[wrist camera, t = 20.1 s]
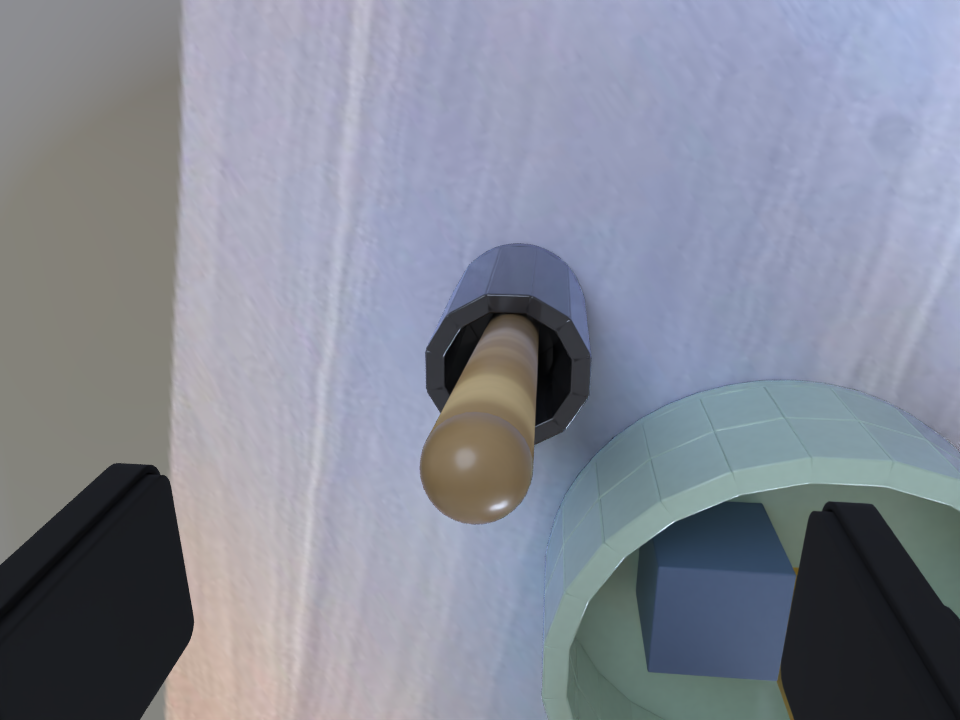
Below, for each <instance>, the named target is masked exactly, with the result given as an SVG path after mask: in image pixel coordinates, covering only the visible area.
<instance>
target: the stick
mask: <svg viewBox="0 0 960 720" xmlns="http://www.w3.org/2000/svg"><path fill="white" fill-rule="evenodd" d="M538 345H539V322H538V321H537V320H535V319H533V318H532V317H530V316H528V315H527V314H512V313H494V314H493V316H492V318H491V319H490V321H489V323H488V325H487V327H486V329H485V331H484V333H483V335H482V336H481V338H480V340H479V342H478V344H477V346H476V348H475V350H474V352H473V353H472V355H471V357H470V359H469V361H468V363H467V365H466V367H465V368H464V370H463V372H462V374H461V376H460V378H459V380H458V382H457V384H456V385H455V387H454V389H453V391H452V393H451V395H450V397H449V399H448V401H447V402H446V404H445V406H444V408H443V410H442V412H441V414H440V416H439V418H438V419H437V421H436V423H435V425H434V427H433V429H432V431H431V433H430V435H429V436H428V438H427V440H426V442H425V444H424V447H423V450H422V454H421V460H420V477H421V481H422V484H423V488H424V490H425V492H426V494H427V496H428V498H429V499H430V501H431V502H432V503H433V505H434V506H435V507H436V508H437V509H438V510H439V511H440V512H442V513H443V514H444V515H446V516H448V517H449V518H451V519H453V520H455V521H458V522H461V523H466V524H473V525H476V524H487V523H491V522H495V521H497V520H499V519H501V518H503V517H505V516H506V515H508V514H509V513H511V512H512V511H513V510H515V509H516V507H517V506H518V505H519V504H520V503H521V502H522V500H523V499H524V497H525V495H526V494H527V491H528V489H529V486H530V484H531V480H532V475H533V460H534V437H535V414H536V391H537V368H538Z"/></svg>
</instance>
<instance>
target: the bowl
mask: <svg viewBox="0 0 960 720" xmlns="http://www.w3.org/2000/svg"><path fill="white" fill-rule="evenodd" d="M725 501H727V502H747V503H762V504H763V506H764V508H765V510H766V512H767V514H768V516H769V518H770V521H771V523H772V525H773V527H774V529H775V531H776V533H777V535H778V537H779V540H780V542H781V544H782V546H783V548H784V550H785V552H786V554H787V556H788V559H789V561H790V563H791V565H792V567H797V568H799V564H800V559H801V554H802V549H803V543H804V538H805V533H806V528H807V522H808V518H809V515H810V514H811V512H813V511H822V509H823V507H824V505H825V503H827V502H828V501H833V502H852V503H869V504H873V505H874V506H875V507H876V508H877V510H878V511H879V513H880V514H881V515H882V517H883V518H884V520H885V521H886V523H887V524H888V525H889V527H890V528H891V530H892V531H893V533H894V534H895V535H896V537H897V538H898V540H899V541H900V543H901V544H902V546H903V547H904V548H905V550H906V551H907V553H908V554H909V556H910V557H911V558H912V560H913V561H914V563H915V564H916V566H917V567H918V568H919V570H920V571H921V573H922V574H923V576H924V577H925V579H926V580H927V581H928V583H929V584H930V586H931V587H932V589H933V590H934V591H935V593H936V594H937V596H938V597H939V599H940V600H941V601H942V603H943V604H944V605H945V606H947V607H949V608H950V609H951V610H952V611H953V612H954V613H955V614H956V615H957V616H958V617H959V619H960V452H959V451H958V450H957V449H956V448H955V447H954V446H953V445H952V444H950V443H949V442H948V441H947V440H946V439H945V438H943V437H942V436H941V435H939V434H937V433H936V432H935V431H934V430H932V429H931V428H929V427H928V426H927V425H925V424H924V423H922V422H921V421H920V420H918V419H917V418H915V417H914V416H913V415H911V414H910V413H908V412H906V411H904V410H902V409H900V408H898V407H896V406H894V405H892V404H890V403H888V402H886V401H885V400H882V399H879V398H876V397H874V396H871V395H868V394H865V393H862V392H860V391H857V390H853V389H849V388H844V387H840V386H835V385H831V384H826V383H818V382H808V381H798V380H767V381H754V382H746V383H739V384H732V385H726V386H722V387H718V388H714V389H711V390H707V391H703V392H699V393H696V394H693V395H691V396H688V397H685V398H683V399H680V400H678V401H675V402H672V403H670V404H667V405H666V406H664V407H662V408H660V409H658V410H656V411H654V412H652V413H650V414H648V415H647V416H645V417H643V418H641V419H640V420H638V421H637V422H635V423H634V424H632V425H631V426H629V427H628V428H627V429H625V430H624V431H622V432H621V433H619V434H618V435H617V436H616V437H614V438H613V439H612V440H611V441H610V442H609V443H608V444H607V445H606V446H604V447H603V448H602V449H601V450H600V451H599V452H598V453H597V454H596V455H595V456H594V457H593V458H592V459H591V461H590V462H589V463H588V464H587V465H586V466H585V468H584V469H583V470H582V471H581V472H580V473H579V475H578V476H577V478H576V479H575V481H574V482H573V484H572V486H571V487H570V489H569V490H568V492H567V493H566V495H565V497H564V499H563V501H562V503H561V505H560V508H559V510H558V512H557V514H556V517H555V519H554V522H553V526H552V529H551V533H550V536H549V540H548V545H547V550H546V558H545V583H544V613H543V651H542V688H541V696H542V701H543V704H544V708H545V711H546V715H547V718H548V720H790V718H789V715H788V712H787V709H786V706H785V704H784V701H783V698H782V695H781V692H780V690H779V687H778V684H777V681H766V680H752V679H737V678H723V677H709V676H695V675H680V674H666V673H652V672H648V670H647V664H646V657H645V651H644V644H643V637H642V631H641V624H640V617H639V611H638V604H637V597H636V582H637V571H638V560H639V548H640V547H641V546H642V545H643V544H645V543H646V542H647V541H649V540H650V539H652V538H653V537H654V536H656V535H657V534H659V533H660V532H661V531H663V530H664V529H666V528H667V527H668V526H670V525H671V524H672V523H674V522H676V521H678V520H681V519H683V518H686V517H688V516H691V515H693V514H695V513H698V512H700V511H703V510H705V509H708V508H710V507H712V506H715V505H717V504H720V503H722V502H725Z"/></svg>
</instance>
